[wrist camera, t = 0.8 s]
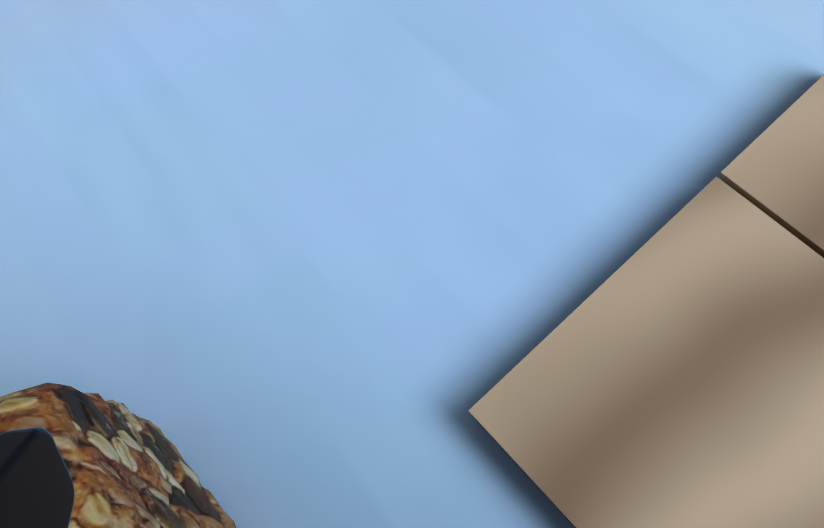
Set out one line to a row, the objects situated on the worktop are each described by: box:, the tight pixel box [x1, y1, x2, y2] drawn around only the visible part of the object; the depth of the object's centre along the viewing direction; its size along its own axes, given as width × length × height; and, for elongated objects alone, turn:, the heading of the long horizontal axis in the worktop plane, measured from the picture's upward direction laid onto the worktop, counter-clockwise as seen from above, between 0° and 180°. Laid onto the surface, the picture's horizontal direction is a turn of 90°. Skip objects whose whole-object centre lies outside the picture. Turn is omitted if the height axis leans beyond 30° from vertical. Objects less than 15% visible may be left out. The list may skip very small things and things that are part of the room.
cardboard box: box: [468, 75, 824, 528], centre depth 23 cm, size 9×17×2 cm, turn 131°
